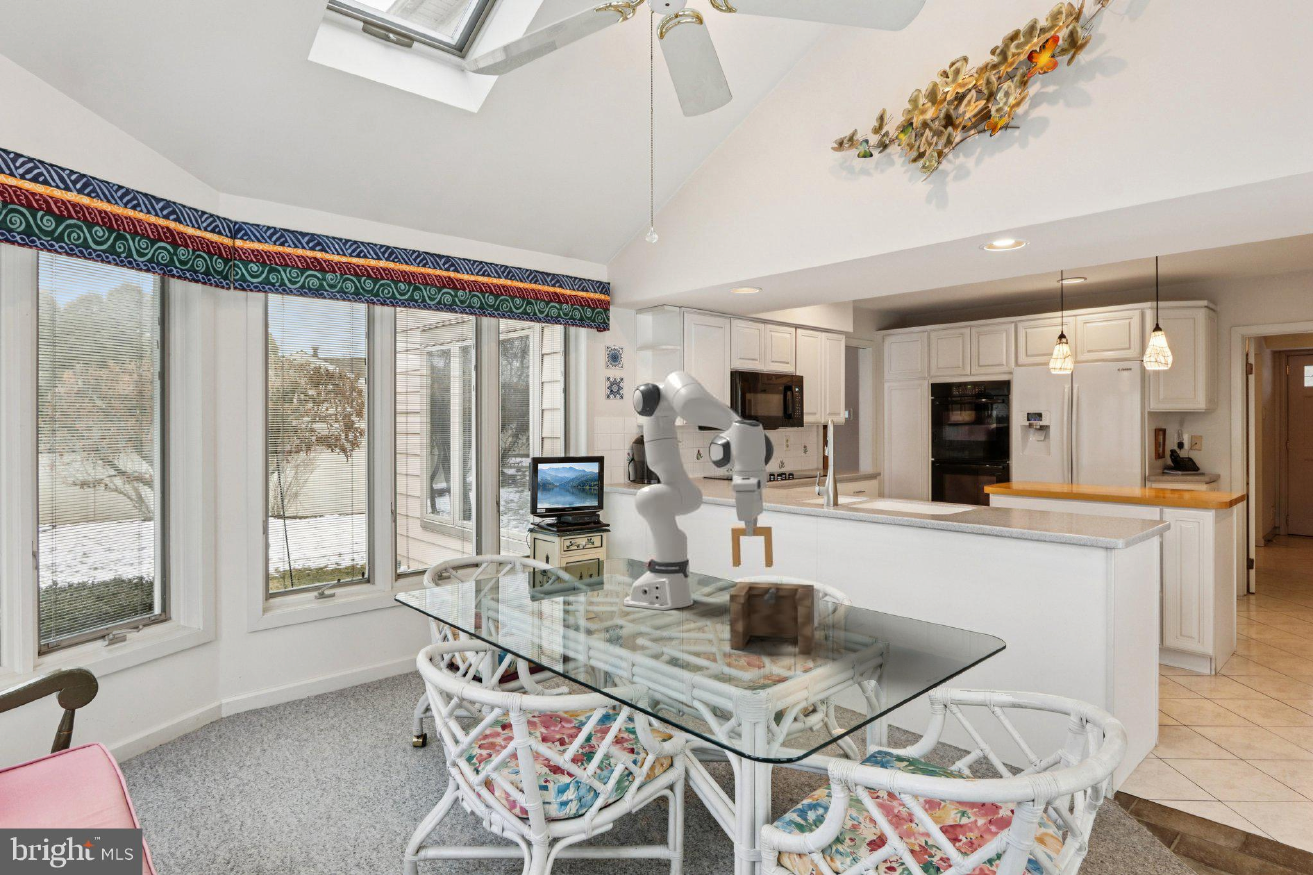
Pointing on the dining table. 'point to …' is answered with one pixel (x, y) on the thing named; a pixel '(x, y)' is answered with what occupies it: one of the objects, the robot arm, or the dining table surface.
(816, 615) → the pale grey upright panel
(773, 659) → the dining table surface
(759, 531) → the wooden arch block
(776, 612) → the notched shelf
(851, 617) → the dining table surface
